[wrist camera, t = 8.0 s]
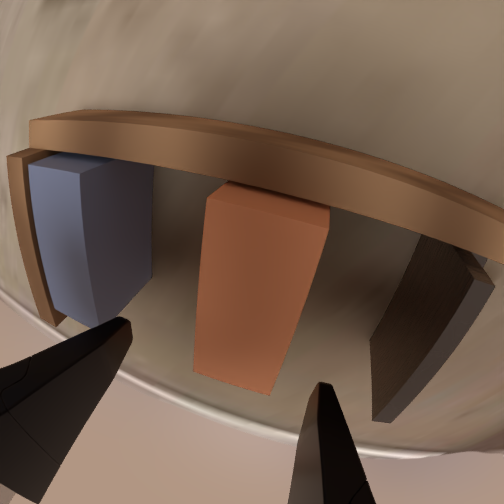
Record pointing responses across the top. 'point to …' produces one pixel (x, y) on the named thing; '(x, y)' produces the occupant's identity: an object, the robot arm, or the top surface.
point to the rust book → (254, 281)
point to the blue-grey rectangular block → (93, 232)
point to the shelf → (251, 177)
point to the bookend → (425, 322)
